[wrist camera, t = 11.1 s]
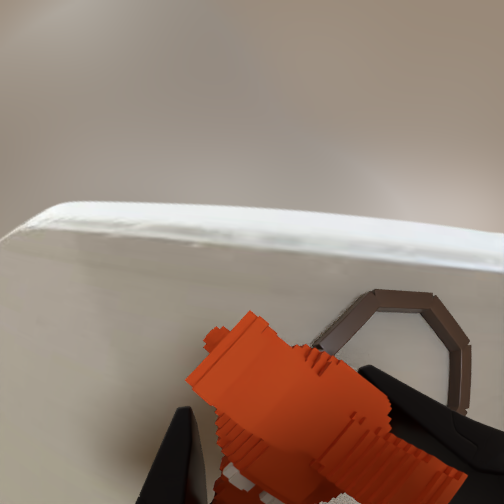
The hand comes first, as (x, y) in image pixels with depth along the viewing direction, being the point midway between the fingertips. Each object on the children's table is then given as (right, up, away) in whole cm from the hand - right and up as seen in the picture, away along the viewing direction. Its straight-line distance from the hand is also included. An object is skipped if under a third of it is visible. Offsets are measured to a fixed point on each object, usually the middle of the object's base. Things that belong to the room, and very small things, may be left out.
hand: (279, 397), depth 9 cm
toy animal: (0, -4, +6) cm, 7 cm away
